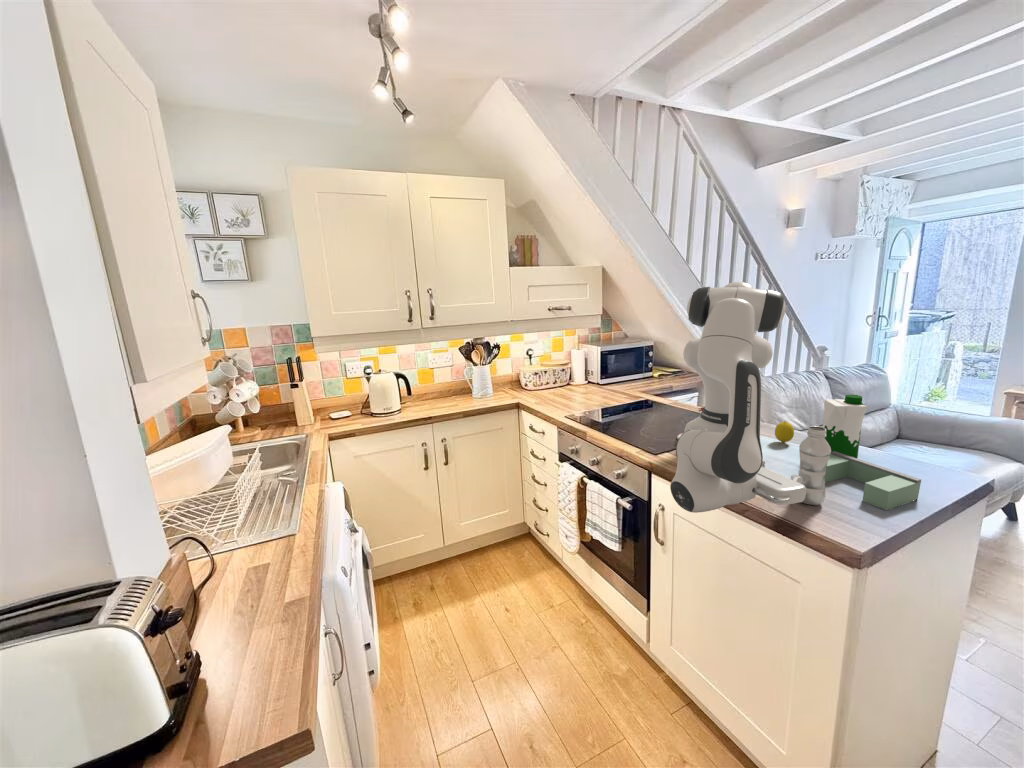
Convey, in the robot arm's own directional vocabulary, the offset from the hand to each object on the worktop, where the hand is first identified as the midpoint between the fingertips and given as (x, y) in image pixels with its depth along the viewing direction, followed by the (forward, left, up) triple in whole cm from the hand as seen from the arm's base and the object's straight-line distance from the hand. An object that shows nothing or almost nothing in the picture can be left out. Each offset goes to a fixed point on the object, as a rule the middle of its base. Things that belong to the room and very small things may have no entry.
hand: (780, 470), depth 95 cm
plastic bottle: (0, +11, -11) cm, 16 cm away
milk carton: (-15, +45, -11) cm, 49 cm away
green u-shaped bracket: (0, +29, -11) cm, 31 cm away
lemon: (-30, +41, -11) cm, 52 cm away
